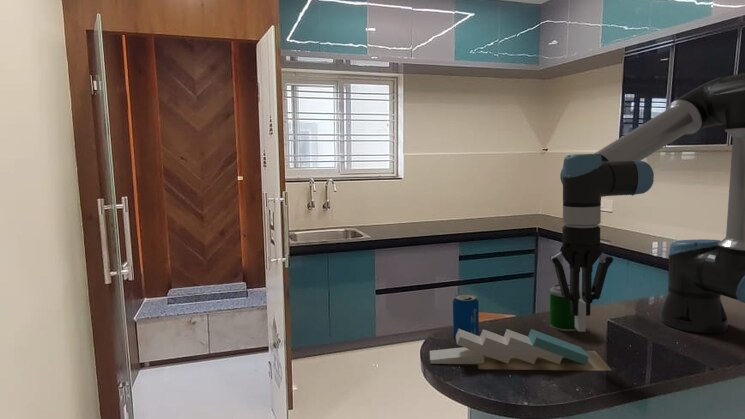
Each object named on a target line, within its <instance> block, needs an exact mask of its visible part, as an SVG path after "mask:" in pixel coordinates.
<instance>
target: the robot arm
mask: <svg viewBox="0 0 745 419" xmlns="http://www.w3.org/2000/svg"><path fill="white" fill-rule="evenodd" d="M723 125H725V129H724V132H726V133H727V135H729V136H730V137H732V142H731V143H732V144H731V159H730V174H729V176H730V177H729V190H728V202H727V204H728V205H727V216H726V217H727V218H726V232H725V237H724V238H723V239H722V240H720V239H709V238H708V239H707V238H706V239H681V240H675V241H673V242H671V243H670V246H669V252H668V269H667V270H668V271H667V272H668V273H667V275H668V279H667V280H668V284H667V295H666V296H665V298H664V302H663V304H662V306H661V308H660V311H659V320H660V322H662V323H663V324H664V325H667V326H668V327H671V328H674V329H677V330H681V331H686V332H691V333H699V334H720V333H725V332H726V331H728V328H729V327H728V326H729V320H728V316H727V314H726V312H725V309H724V308H725V307H724V305H723V303H722V297H721V296H724V297H726V298H730V299H733V300H737V301H739V302H741V303H744V304H745V72H742V73H737V74H733V75H732V74H731V75H728V76H721V77H718V78H714V79H712V80H710V81H708V82H705V83H703V84H701V85H699V86H697V87H696V88H694V89H692V90H690V91H689V92H687V93H685V94H682V96H680V97H679V98H677V99H675V100H673V101H672V102H670V103H669V104H668V105H667V108H666V110H664V111H663V112H661V113H659V114H658V115H656V116H653V118H651V119H649V120H647V121H646V122H644V123H642V124H641V125H639V126H637V127H636V128H634V129H633V130H631V131H629V132H628V133H626V134H624V135H623V136H621V137H619V138H618V139H616V140H614V141H612V142H611V143H609V144H607V145H606V146H604V147H603V148H601V149H599V150H598V151H596V152H594V153H579V154H578V153H576V154H573V153H572V154H568V155H565V157H564V159H563V165H562V168H561V171H560V174H559V175H560V177H559V180H560V183H561V184H562V223H563V224H564V225H563V226H562V245H561V248H560V249H559V252H558V253H557V254H555V255H550V256H549V260H550V262H551V263H552V264H553V267H554V268H555V269H554V271H555V274H556V277H557V281H558V284H559V286H560V290H561V294H562V296H563V297H564V298H565V299H567V300H570V301H571V306H570V312H571V314H572V315H573V316H575V328H576V329H577V330H576V331H577V332H580V333H581V332H587V330H586V329H587V325H586V324H587V316H588V317H589V316H591V304H592V303H593V301H594V300H599V299H600V298H601V295H602V292H603V288H604V285H605V281H606V277H607V274H608V270H609V267H610V265H612V263H613V261H614V257H612V256H610V255H608V254H606V253H604V252H603V249H602V246H601V226H600V224H601V220H602V219H601V214H602V213H601V212H602V210H601V209H602V208H601V205H602V198H603V197H617V196H632V197H633V196H635V195H636V196H637V195H642V194H645V193H647V192H648V191H650V189H651V188H652V187H653V184H654V181H655V179H654V178H655V177H654V170H653V168H652V166H651V165H650V164H649V163H648V162H646V161H643V160H644V159H646V158H648V157H649V156H651V155H652V154H654V153H656V152H657V151H659V150H660V149H663V148H664V147H666V146H667V145H669V144H671V143H672V142H674V141H676V140H677V139H679V138H681V137H683V136H684V135H693V134H695V133H697V132H698V131H701V130H702V129H705V128H706V129H707V128H709V127H714V126H723ZM564 259H565V261H566V263H567V264H569V284H568V282H567V278H566V274H565V270H564V266H563V262H564ZM597 261H598V265H597V268H596V271H595V274H594V275H595V276H594V279H593V278H592V276H593V267H594V266H593V265H594V264H595V263H596V262H597ZM580 273H581V298H582V299H581V298H580V299H579V291H580ZM592 279H593V280H592ZM592 281H593V282H592ZM568 285H570V292H569V288H568Z"/></svg>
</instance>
